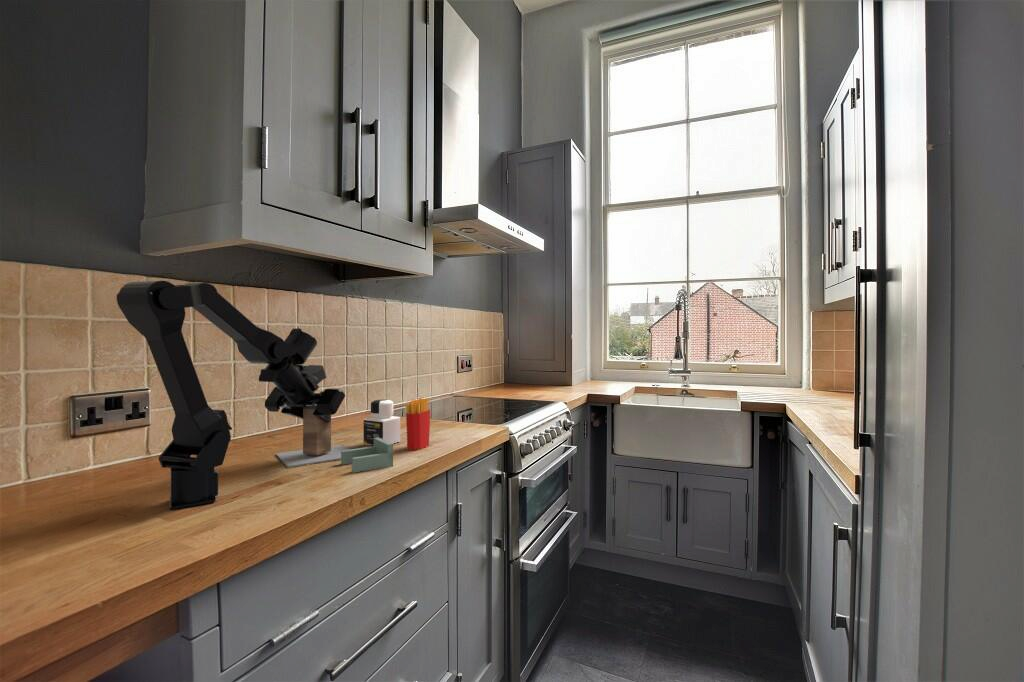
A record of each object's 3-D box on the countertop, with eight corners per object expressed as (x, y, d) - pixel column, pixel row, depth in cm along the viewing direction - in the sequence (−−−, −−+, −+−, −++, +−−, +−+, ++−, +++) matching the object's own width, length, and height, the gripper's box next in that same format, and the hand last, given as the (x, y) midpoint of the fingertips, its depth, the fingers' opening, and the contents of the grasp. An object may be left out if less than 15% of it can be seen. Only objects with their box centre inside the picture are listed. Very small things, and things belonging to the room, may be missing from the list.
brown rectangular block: (316, 455, 110) (317, 401, 110) (302, 453, 112) (303, 400, 112) (331, 451, 114) (331, 399, 114) (317, 449, 116) (317, 398, 116)
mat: (287, 467, 102) (287, 466, 102) (275, 455, 114) (275, 453, 114) (359, 457, 112) (359, 455, 112) (341, 446, 123) (341, 444, 123)
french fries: (420, 442, 128) (420, 396, 128) (433, 444, 126) (433, 397, 126) (401, 450, 119) (401, 400, 119) (415, 451, 117) (415, 401, 117)
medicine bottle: (362, 444, 125) (363, 400, 125) (381, 439, 132) (381, 397, 132) (382, 447, 122) (382, 402, 122) (400, 442, 128) (400, 399, 128)
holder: (353, 472, 99) (353, 449, 99) (341, 463, 106) (341, 442, 106) (392, 466, 104) (393, 444, 104) (378, 457, 111) (378, 437, 111)
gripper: (340, 354, 107) (367, 396, 117) (273, 353, 111) (305, 394, 122) (317, 392, 99) (348, 433, 110) (247, 389, 104) (283, 429, 114)
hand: (321, 420), depth 114 cm, fingers closed on brown rectangular block, 5 cm apart
